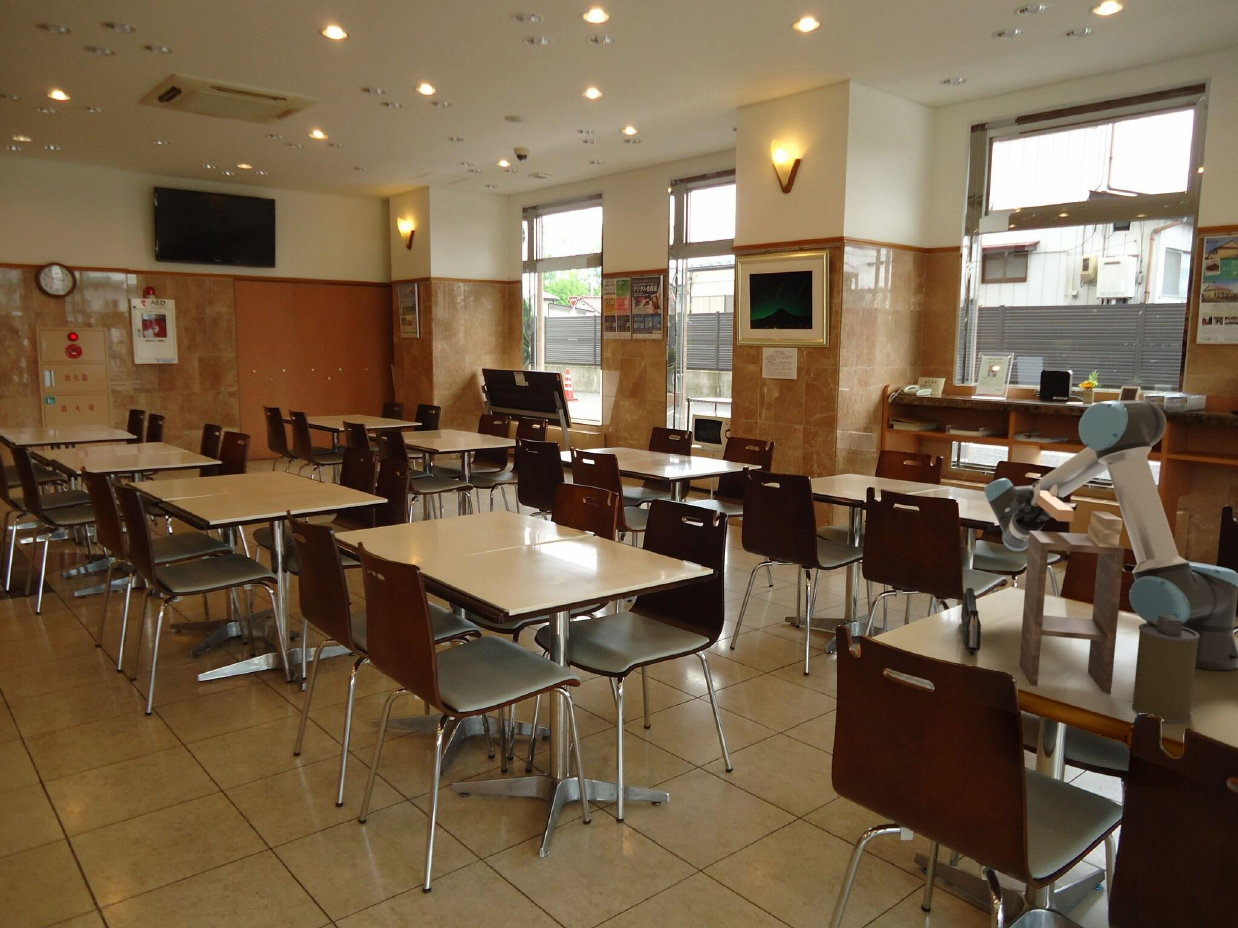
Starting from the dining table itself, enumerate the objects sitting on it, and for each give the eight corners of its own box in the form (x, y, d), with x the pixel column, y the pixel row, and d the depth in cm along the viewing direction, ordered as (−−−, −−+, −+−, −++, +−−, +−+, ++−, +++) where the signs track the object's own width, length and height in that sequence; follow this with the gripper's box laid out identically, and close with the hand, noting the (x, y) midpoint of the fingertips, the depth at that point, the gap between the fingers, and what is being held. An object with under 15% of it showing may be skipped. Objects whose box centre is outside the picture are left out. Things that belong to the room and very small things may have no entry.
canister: (1203, 723, 174) (1213, 626, 172) (1150, 723, 174) (1160, 625, 172) (1168, 702, 185) (1178, 609, 183) (1119, 701, 185) (1127, 609, 182)
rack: (1094, 672, 202) (1109, 508, 197) (1111, 694, 189) (1127, 520, 184) (1019, 665, 206) (1031, 504, 201) (1030, 686, 193) (1043, 515, 188)
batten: (1032, 500, 219) (1033, 490, 219) (1045, 500, 218) (1046, 490, 218) (1057, 520, 192) (1058, 509, 192) (1073, 521, 192) (1073, 510, 191)
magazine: (962, 587, 239) (968, 582, 211) (975, 589, 238) (983, 583, 210) (959, 651, 237) (964, 655, 208) (972, 653, 235) (979, 656, 207)
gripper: (1061, 537, 228) (1084, 506, 207) (994, 533, 232) (1011, 502, 211) (1060, 510, 231) (1083, 476, 210) (994, 506, 235) (1010, 473, 214)
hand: (1047, 489), depth 211 cm, fingers closed on batten, 3 cm apart
